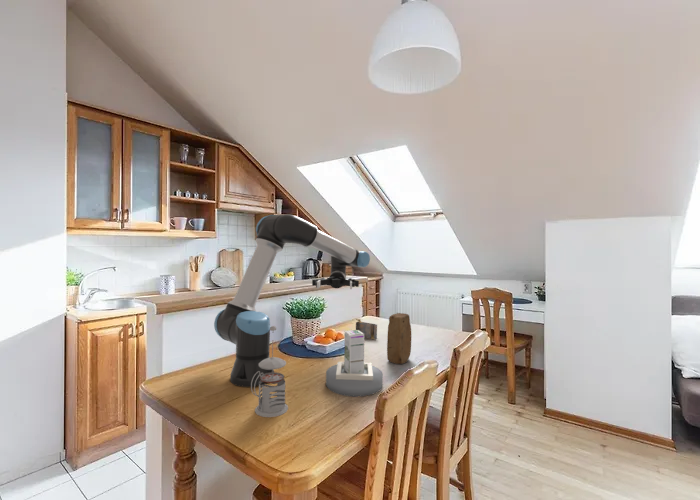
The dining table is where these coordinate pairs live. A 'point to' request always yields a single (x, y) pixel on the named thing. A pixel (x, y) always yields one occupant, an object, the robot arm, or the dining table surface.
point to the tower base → (354, 380)
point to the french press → (271, 388)
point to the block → (399, 338)
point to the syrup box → (354, 352)
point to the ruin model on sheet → (367, 329)
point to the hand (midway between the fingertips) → (334, 285)
